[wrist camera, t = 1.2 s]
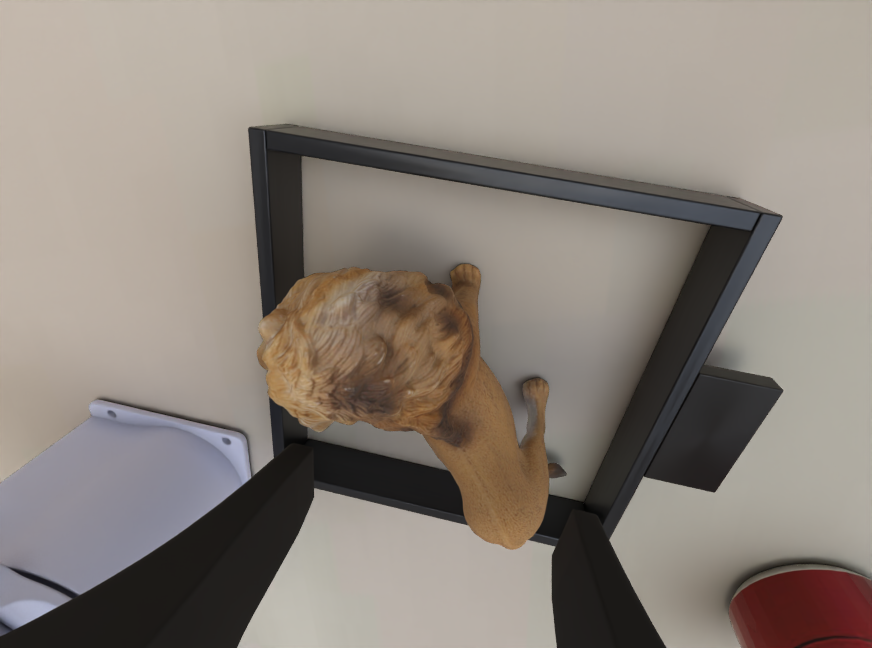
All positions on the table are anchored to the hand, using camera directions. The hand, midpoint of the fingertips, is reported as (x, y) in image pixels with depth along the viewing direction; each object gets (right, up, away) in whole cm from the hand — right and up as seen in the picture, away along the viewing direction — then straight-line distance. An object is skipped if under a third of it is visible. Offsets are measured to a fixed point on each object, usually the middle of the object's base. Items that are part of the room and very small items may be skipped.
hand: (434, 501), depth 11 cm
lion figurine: (+1, +4, +7) cm, 8 cm away
